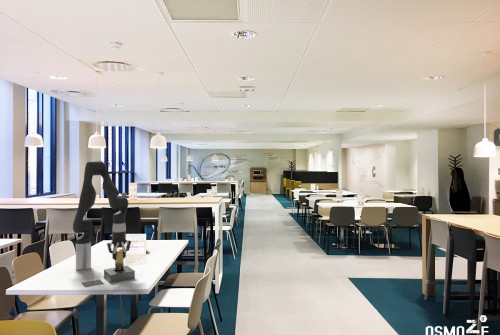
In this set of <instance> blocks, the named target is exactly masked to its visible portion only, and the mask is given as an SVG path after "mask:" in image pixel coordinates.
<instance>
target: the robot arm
mask: <svg viewBox="0 0 500 335" xmlns="http://www.w3.org/2000/svg"><path fill="white" fill-rule="evenodd" d="M94 176H101V178H102V179H103V181H102V190H103V192H104V193H105V195H106V197H107V199H108V204H109V207H110V208H111V209H112V210H118V211H117V212H115V213H114V214H113V215H112V227H111V228H112V233H111V234H112V238H111V239H112V240H111V242H107V243H106V246H107V250H108V253H110V254H111V255H112V260H113V261H115V260H116V254H115V252H116V250H118V249H119V248H120V249H123V258H124V259H126V257H127V252H128V251H130V248H131V245H132V241H131V240H128V239H127V237H126V236H127V235H126V233H127V226H126V215H127V211H128V207H129V200H128V198H127V197H126V196H120V195H119V194H120V191H119V190H118V188H117V187H116V185H115V183H114V182H113V180H112V177H111V174H110V172H109V171H108V168H107V165H106V164H105V163H104V161H102V160H89V161H87V162H86V163H85V167H84V172H83V181H82V187H81V191H80V196H79V199H78V200H79V201H78V206H77V210H76V213H75V217H74V220H73V222H72V231H73V232H74V233H75V234H82V235H80V236H79V237H77V238H76V239H75V270H76V271H85V270H89V269H91V268H92V238H93V237H92V235H93V234H92V233H93V221H92V219H91V218H89V217H85V216H86V214H87V212H89V211H90V210H91V209H92V207H93V206H95V202H96V198H97V191H96V189H95V187H94V185H93V177H94ZM125 245H126V246H125ZM112 246H113V247H112Z"/></svg>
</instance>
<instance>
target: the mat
mask: <svg viewBox="0 0 500 335" xmlns="http://www.w3.org/2000/svg"><path fill="white" fill-rule="evenodd" d="M81 284H82V285H83V287H84V288H89V287H96V286H100V285H104V284H105V283H104V282H103V281H102V280H101V278H99V279H94V280H89V281H83V282H81Z"/></svg>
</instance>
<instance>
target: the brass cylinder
mask: <svg viewBox="0 0 500 335" xmlns="http://www.w3.org/2000/svg"><path fill="white" fill-rule="evenodd" d="M115 254H116V260H114V268H115V269H116V270H121V269H124V266H125V264H124V259H125V258H123V249H122V248H120V249H119V248H117V250H116V252H115Z"/></svg>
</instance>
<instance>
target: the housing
mask: <svg viewBox="0 0 500 335" xmlns="http://www.w3.org/2000/svg"><path fill="white" fill-rule="evenodd" d="M135 272H136V270H134V269H132V268H131V267H130V266H128V265H124V269H121V270H116V269H115V267H111V268H104V269H103V278H104V280H106V281H107V282H108V283H110V284H113V283H119V282H124V281H131V280H135V277H136V276H135V274H136V273H135Z"/></svg>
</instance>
